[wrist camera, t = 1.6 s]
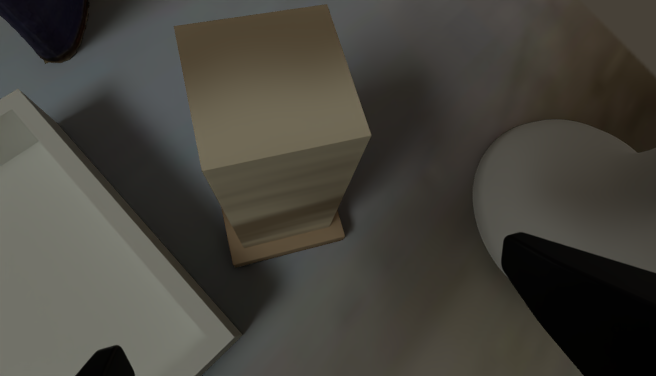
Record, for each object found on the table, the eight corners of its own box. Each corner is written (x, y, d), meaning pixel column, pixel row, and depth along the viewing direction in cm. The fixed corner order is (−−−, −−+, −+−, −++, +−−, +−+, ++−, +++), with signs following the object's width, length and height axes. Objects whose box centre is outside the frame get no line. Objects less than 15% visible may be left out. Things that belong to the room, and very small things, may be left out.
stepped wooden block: (342, 240, 22) (403, 152, 11) (235, 267, 21) (178, 203, 10) (314, 144, 24) (342, -17, 12) (214, 165, 23) (145, 10, 11)
